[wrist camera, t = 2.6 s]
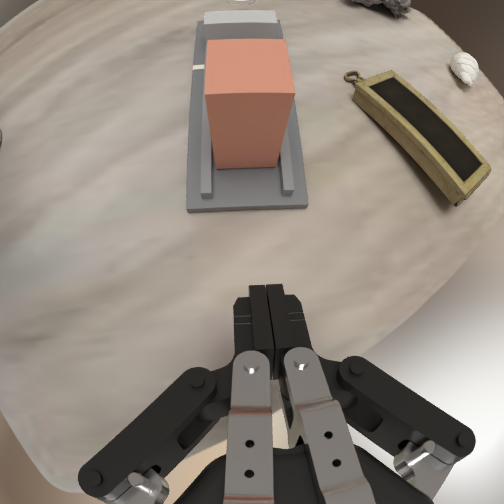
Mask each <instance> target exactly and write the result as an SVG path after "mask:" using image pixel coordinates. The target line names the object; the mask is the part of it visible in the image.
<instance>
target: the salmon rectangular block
mask: <svg viewBox="0 0 504 504" xmlns="http://www.w3.org/2000/svg"><path fill="white" fill-rule="evenodd" d="M294 96H295V89H294V83H293V78H292V72H291V67H290V61H289V56H288V51H287V46H286V41H285V39H220V40H207V56H206V75H205V101H206V107H207V114H208V120H209V127H210V133H211V140H212V146H213V152H214V159H215V165H216V169H229V168H258V167H276V165H277V161H278V157H279V153H280V149H281V146H282V142H283V138H284V134H285V130H286V126H287V123H288V119H289V115H290V111H291V107H292V104H293V100H294Z"/></svg>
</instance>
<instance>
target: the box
mask: <svg viewBox="0 0 504 504" xmlns="http://www.w3.org/2000/svg"><path fill="white" fill-rule="evenodd" d="M352 75H357V76H358V79H352V78H349V76H352ZM344 79H345V80H346V81H350V82H353V83H354V84H355V87H354V88H355V93H354V97H353V101H354V102H355V103H356V104H357V105H358V106H360V107H361V108H362V109H363V110H364V111H365V112H366V113H368V114H369V115H370V116H371V117H372V118H373V119H374V120H375V121H376V122H378V123H379V124H380V125H381V126H382V127H383V128H384V129H385V130H386V131H387V132H388V133H389V134H390V135H391V136H392V137H393V138H394V139H395V140H396V141H397V142H398V143H399V144H400V145H401V146H402V147H403V148H404V149H405V150H406V151H407V152H408V153H409V154H410V155H411V157H412V158H413V159H414V160H415V161H416V162H417V163H418V164H419V166H420V167H421V168H422V169H423V170H424V171H425V172H426V173H427V175H428V176H429V177H430V178H431V179H432V180H433V181H434V182H435V184H436V185H437V186H438V187H439V189H440V190H441V191H442V192H443V193H444V194H445V196H446V197H447V198H448V199H449V200H450V202H451V203H452V204H453V205H454V206H456V207H457V206H458V205H459V204H460V203H461V202H462V201H463V200H466V199H467V198H468V197H469V196H470V195H471V194H472V193H473V192H474V191H475V190H476V189H477V188H478V187H479V186H480V184H481V183H482V182H483V181H484V180H485V179H486V178H487V176H488V175H489V173H490V172H491V166H490V165H489V164H488V162H487V161H486V160H485V159H484V158H483V157H482V156H481V154H480V153H479V152H478V151H477V150H476V149H475V148H474V146H473V145H472V144H471V143H470V142H469V141H468V140H467V139H466V138H465V136H464V135H463V134H462V133H461V132H460V131H459V130H458V129H457V128H456V127H455V126H454V125H453V124H452V123H451V122H450V121H449V120H448V119H447V118H446V117H445V116H444V115H443V114H442V113H441V112H440V111H439V110H438V109H437V108H436V107H435V106H434V105H433V104H432V103H431V102H430V101H428V100H427V99H426V98H425V97H424V96H423V95H422V94H421V93H419V92H418V91H417V90H416V89H415V88H414V87H412V86H411V85H410V84H409V83H408V82H406V81H405V80H404V79H403V78H401V77H400V76H399V75H398V74H396V73H395V72H394V71H392V70H390V71H387V72H384V73H381V74H378V75H376V76H373V77H370V78H368V79H364V78H362V77H360V73H359V72H358V71H350V72H347V73H346V74H345V76H344Z"/></svg>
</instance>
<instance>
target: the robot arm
mask: <svg viewBox="0 0 504 504" xmlns="http://www.w3.org/2000/svg"><path fill="white" fill-rule="evenodd" d="M0 144H1V130H0ZM233 310H234V342H235V354H234V357H233V359H232V361H231V362H230V363H229V364H228V365H227V366H225V367H223V368H221V369H217V370H214V371H209V370H208V369H205V368H202V367H194V368H191V369H188V370H186V371H185V372H184V373H183V374H182V375H181V376H180V377H179V378H178V379H177V380H176V381H174V382H173V383H172V384H171V385H170V386H169V387H168V388H167V389H166V390H165V391H164V392H163V393H162V394H161V395H160V396H159V397H158V398H157V399H156V400H155V401H154V402H153V403H151V404H150V405H149V406H148V407H147V408H146V409H145V410H144V411H143V412H142V413H141V414H140V415H139V416H138V417H137V418H135V419H134V420H133V421H132V422H131V423H130V424H129V425H128V426H127V427H126V428H125V429H124V430H122V431H121V432H120V433H119V434H118V435H117V436H116V437H115V438H114V439H113V440H112V441H110V442H109V443H108V444H107V445H106V446H105V447H104V448H103V449H102V450H100V451H99V452H98V453H97V454H96V455H95V456H94V457H93V458H91V459H90V460H89V461H88V462H87V463H86V464H85V465H83V466H82V468H81V469H80V471H79V474H78V481H79V485H80V487H81V488H82V490H83V491H84V492H85V493H86V494H88V495H90V496H93V497H95V498H97V499H99V500H101V501H103V502H105V503H106V504H163V503H164V501H165V500H166V498H167V497H168V495H169V486H168V483H167V481H166V480H165V479H164V478H165V477H166V476H167V475H168V474H169V473H170V472H171V471H172V470H173V469H174V468H175V467H176V466H177V465H178V464H179V463H180V462H181V461H182V460H183V459H184V458H185V457H186V456H187V454H188V453H189V452H190V451H191V450H192V449H193V448H194V447H195V446H196V445H197V444H198V443H199V442H200V441H201V440H202V438H203V437H204V436H205V435H206V434H207V433H208V432H209V431H210V430H211V429H212V427H213V426H214V425H215V424H216V423H217V422H218V421H219V420H220V418H221V417H224V416H227V415H229V418H228V435H227V453H226V454H225V455H223V456H221V457H219V458H217V459H215V460H214V461H212V462H211V463H210V464H209V465H207V466H206V467H205V469H204V470H203V471H202V472H201V473H200V475H199V476H198V477H197V478H196V479H195V480H194V481H193V483H192V484H191V485H190V486H189V487H188V488H187V489H186V490H185V491H184V493H183V494H182V495H181V496H180V497H179V498H178V499H177V500H176V501H175V503H173V504H434V503H433V501H432V500H433V498H434V497H435V495H436V493H437V492H438V490H439V489H440V487H441V485H442V484H443V482H444V481H445V479H446V477H447V476H448V474H449V472H450V471H451V469H452V467H453V465H454V464H455V463H456V462H458V461H460V460H461V459H463V458H464V457H466V456H467V455H469V454H470V453H471V452H472V451H473V449H474V447H475V442H476V440H475V435H474V433H473V431H472V430H471V429H470V428H469V427H467V426H466V425H464V424H462V423H461V422H459V421H458V420H456V419H455V418H453V417H451V416H450V415H448V414H447V413H445V412H444V411H442V410H441V409H439V408H438V407H436V406H435V405H433V404H432V403H430V402H429V401H427V400H426V399H424V398H423V397H421V396H420V395H418V394H417V393H415V392H413V391H412V390H411V389H409V388H407V387H406V386H405V385H403V384H402V383H400V382H398V381H397V380H395V379H394V378H393V377H391V376H389V375H388V374H387V373H385V372H384V371H382V370H381V369H379V368H378V367H376V366H375V365H373V364H372V363H370V362H369V361H367V360H366V359H364V358H362V357H359V356H350V357H347V358H345V359H344V360H343V361H342V362H337V361H331V360H326V359H324V358H322V357H320V356H318V355H317V354H316V353H315V352H314V350H313V348H312V346H311V341H310V337H309V333H308V329H307V325H306V321H305V317H304V313H303V309H302V305H301V302H300V301H299V300H298V298H297V297H296V296H295V295H285V294H284V289H283V285H282V284H269V285H266V288H265V285H250V286H249V297H240V298H237V300H236V302H235V304H234V306H233ZM272 375H273V380H276V379H279V384H280V391H279V396H280V400H281V405H282V409H283V414H284V418H285V422H286V427H287V431H288V444H289V449H280V448H273V441H272V411H271V397H270V380H272ZM347 423H348V424H349V425H350V426H352V427H353V428H354V429H356V430H357V431H358V432H360V433H361V434H362V435H364V436H365V437H367V438H368V439H369V440H371V441H372V442H374V443H375V444H376V445H378V446H379V447H381V448H382V449H384V450H385V451H386V452H388V453H389V454H391V455H392V456H394V467H395V470H396V471H397V472H398V473H399V474H400V475H401V476H402V477H400V476H399V475H398V474H396V473H395V472H394V471H392V470H391V469H390V468H388V467H387V466H385V465H384V464H383V463H382V462H380V461H379V460H377V459H376V458H375V457H374V456H372V455H371V454H370V453H368V452H367V451H366V450H364V449H363V448H361V447H359V446H357V445H355V444H353V442H352V438H351V435H350V432H349V429H348V426H347Z"/></svg>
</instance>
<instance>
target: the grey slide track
mask: <svg viewBox="0 0 504 504" xmlns="http://www.w3.org/2000/svg"><path fill="white" fill-rule="evenodd" d="M220 39H283V34H282V30H281V25H280V20H277V18H276V13H275V11H263V10H237V11H214V12H205V17H204V21H199V22H198V25H197V33H196V43H195V52H194V63H193V74H192V87H191V101H190V117H189V136H188V161H187V211H188V213H193V212H212V211H233V210H259V209H294V208H306V207H307V206H308V196H307V188H306V179H305V171H304V163H303V155H302V148H301V140H300V133H299V126H298V120H297V113H296V107H295V101H294V100H293V104H292V107H291V111H290V115H289V119H288V123H287V126H286V130H285V134H284V138H283V142H282V146H281V149H280V153H279V157H278V161H277V165H276V167H258V168H229V169H216V165H215V159H214V152H213V146H212V140H211V133H210V127H209V120H208V114H207V107H206V101H205V75H206V56H207V40H220Z"/></svg>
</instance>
